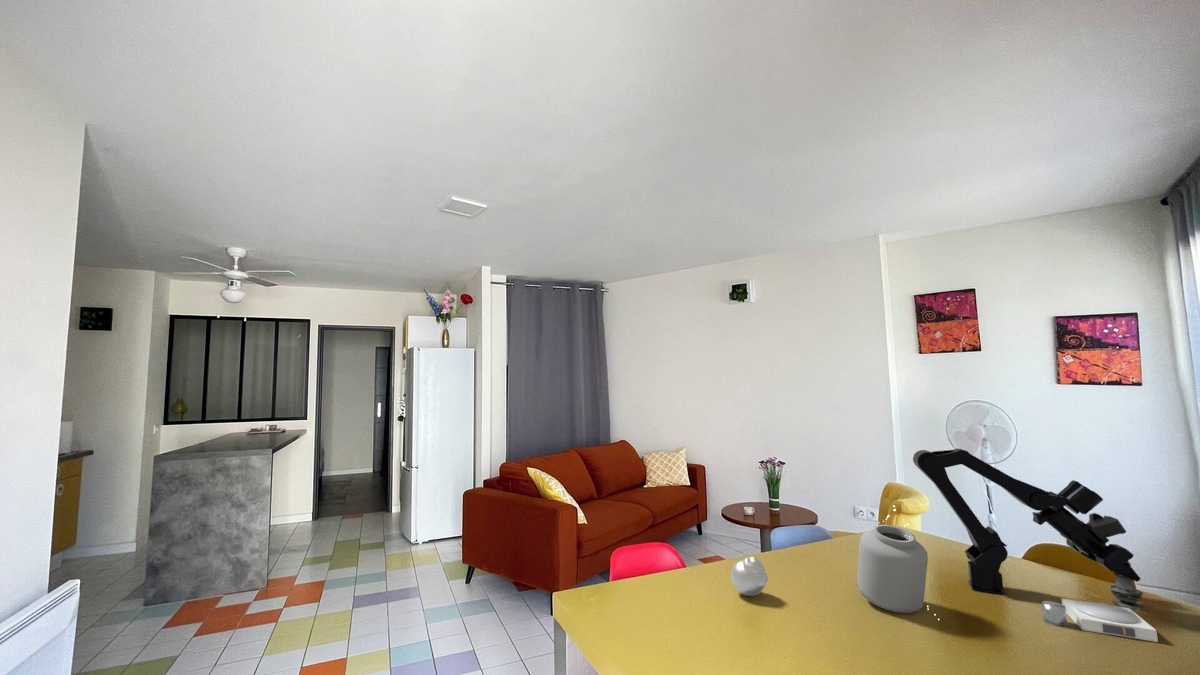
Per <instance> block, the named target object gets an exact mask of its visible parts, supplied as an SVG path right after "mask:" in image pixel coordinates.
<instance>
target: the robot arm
mask: <svg viewBox="0 0 1200 675" xmlns="http://www.w3.org/2000/svg"><path fill="white" fill-rule="evenodd" d="M912 461H913V464H914V465H915V466H916V468H918V470H920V471H921V472H922V473H923V474H924V475H925V476H926V477H927V478H928V479H929V480H930V481H931V482H932V483H933V484H934V485H935V486H936V487H935V488H936V489H937V490H939V492H940V494H941V496H942V497H943V498H944V499H945V501H946V502H947V504H948V505H949V507H950V508H951V509H952V511H953V512H954V513H955V515H956V516H957V518H958V519H959V521H960V522H961V523H962V524H963V526H964V527H965V530H966V531H967V534H968V537H969V539H970V541H971V543H972V545H970V546H969V547H968V548H966V550H964V553H965V557H967V559H968V561H967V568H968V578H969V580H968V585H969V586H970V587H971V589H972V590H973V591H978V592H985V593H990V594H991V593H992V594H998V595H999V594H1000V595H1003V594H1004V592H1003V590H1004V584H1003V576H1002V575H1003V574H1002V573H1001V571H1000V568H1001V565H1002V564H1003V563H1004V562H1005V561H1006V560H1007V558H1008V554H1009V553H1008V549H1007V548H1006V547H1008V545H1007V544H1006V543H1004V542H1003V541H1002V539H1001V537H1000V536H999V533H998V532H997V531H996V530H995V529H993V527H991V526H989V525H987V526H986V527H985V526H984V525H983V524H982V522H981V521H980V520H979V518H978V517H977V516H976V515H975V513H974V512H973V510H972V509H971V507H970V506H969V505H968V504H967V502H966V501H965V499H964V498H963V497H962V495H961V493H960V492H959V490H957V488H956V487H955V485H954V484H953V482H952V481H951V480H950V478H949V475H948V473H947V469H946V468H950V467H954V466H958V465H959V466H960V465H962V466H964V467H966V468H967V469H969V470H971V471H972V472H975V473H976V474H978V475H979V476H981V477H983V478H985V479H987V480H988V481H990V482H992V483H994V484H996V485H997V486H999V487H1001V488H1003V490H1005V491H1006V492H1007V493H1008V494H1009V495H1011V497H1013V498H1015V499H1016V500H1017V501H1018V502H1019V503H1020V504H1022V505H1025V506H1026V507H1027V508H1030V509H1032V510H1034V511H1033V512H1032V521H1033V522H1034V523H1035V524H1037V525H1039V526H1043V524H1044V523H1045V522H1046V523H1047V524H1048V525H1049V526H1051V528H1053V529H1054V530H1055V531H1057V533H1059V535H1060V537H1061V536H1062V538H1065V539H1066V540H1065V541H1066V545H1067V546H1068V547H1070V548H1071V549H1072V550H1073V551H1075V552H1077V553H1080V554H1081V555H1082V556H1084V557H1085V558H1087V559H1089V560H1092V561H1094V562H1096V563H1098V564H1099V565H1101V567H1103V568H1104V569H1105V570H1108V571H1110V572H1112V573H1113V572H1115V573H1118V574H1120V575H1123V576H1125V577H1127V578H1130V579H1132V580H1133V582H1134V581H1135V582H1137V583H1138V582H1139V581H1141V577H1140V576H1139V575H1138V573H1136V571H1135V570H1134V568H1133V567H1132V565H1131V566H1130V565H1129V564H1128V562H1127V561H1129V562H1130V560H1131V559H1132V558H1133V557H1134V554H1133V553H1132V552H1131V551H1129V550H1128V549H1127V548H1125V547H1123V546H1121V545H1120V544H1117V543H1116V544H1114V543H1109V542H1110V539H1109V538H1110V537H1114V536H1117V535H1124V534H1126V533H1127V531H1126V529H1125V527H1124V526H1123V525H1122V524H1121V522H1120V519H1118V518H1115V517H1113V516H1107V515H1104V516H1102V515H1100V514H1099V513H1096V512H1092V513H1089V512H1090V511H1092V510H1093V509H1094V508H1096V507H1097V506H1098V505H1099V504H1100V503H1102V502H1103V501H1104V498H1103V497H1102V496H1101V495H1099V494H1098V493H1097V492H1096V491H1094V490H1091V489H1090V488H1088V487H1087V486H1085V485H1083V484H1082V483H1080V482H1079V481H1076V480H1074V479H1072V480H1071V481H1070V482H1069V483H1068V484H1067V485H1066V486H1065V487H1064V488H1063V489H1062V490H1060V491H1059V492H1058V493H1055V492H1053V491H1047V490H1044V489H1042V488H1040V487H1037V486H1035V485H1031V484H1029V483H1027V482H1024V481H1022V480H1019V479H1016V478H1014V477H1012V476H1010V475H1009V474H1007V473H1005V472H1003V471H1002V470H1000V469H998V468H996V467H995V466H993V465H991V464H989V463H987V462H985V461H984V460H982V459H980V458H978V457H976V456H975V455H973V454H971V453H970V452H969V451H967V450H966V449H962V448H955V449H947V450H936V451H935V450H934V451H929V450H926V449H920V450H917V451H916V452H915V453H914V454H913V458H912ZM1065 507H1066V508H1067V509H1066V508H1065ZM1069 510H1070V511H1071V512H1070V511H1069ZM1035 511H1038V512H1035ZM1072 512H1073V513H1074V514H1076V515H1078V514H1081V515H1087V514H1088V513H1089V514H1088V518H1089V520H1088V522H1086V523H1085V522H1084V521H1083V520H1081V519H1079V518H1078V517H1077V516H1075V515H1074V514H1073V513H1072ZM1107 543H1109V544H1108V545H1106V544H1107Z"/></svg>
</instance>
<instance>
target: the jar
mask: <svg viewBox="0 0 1200 675" xmlns="http://www.w3.org/2000/svg"><path fill="white" fill-rule="evenodd" d="M892 507H894V509H893V512H896V511H897V509H896V505H893V506H892ZM889 517H890V514H888V515H887V516H886V518H885V521H887V520H888V519H889ZM902 520H903V521H905V518H904V519H902ZM885 521H884V520H883V521H882V522H883V523H884V522H885ZM906 525H907V526H909V523H906ZM906 525H903V527H904V528H906ZM915 536H916V535H914V534H913V533H912V532H910V531H908V530H906V529H903V528H901V527H898V526H895V525H888V524H880V522H878V525H875V526H874V528H873V529H871V530H866V531H864V532H863V533H862V534H861V536H860V540H859V547H858V548H859V549H858V560H857V571H856V573H857V574H856V588H857V589H858V590H859V593H860V594H861V595H862V596H863V597H864V598H865V599H866V600H868V601H869V602H871V603H872V604H874V606H877V607H878V608H879V607H880V609H883V610H886V611H888V612H889V611H890V612H893V613H900V614H907V613H908V614H910V613H915V612H917V611H920V609H921V608H922V607H923V605H924V600H925V591H926V582H927V570H928V561H929V557H928V556H929V555H928V551H927V550H926V548H925V546H923V545H922V544H921V543H920V542H919V541H918V540H917V539H916V537H915ZM926 607H927V611H929V610H930V608H929V605H927V606H926ZM934 616H936V613H934ZM937 620H938V621H940V618H938V619H937Z"/></svg>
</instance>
